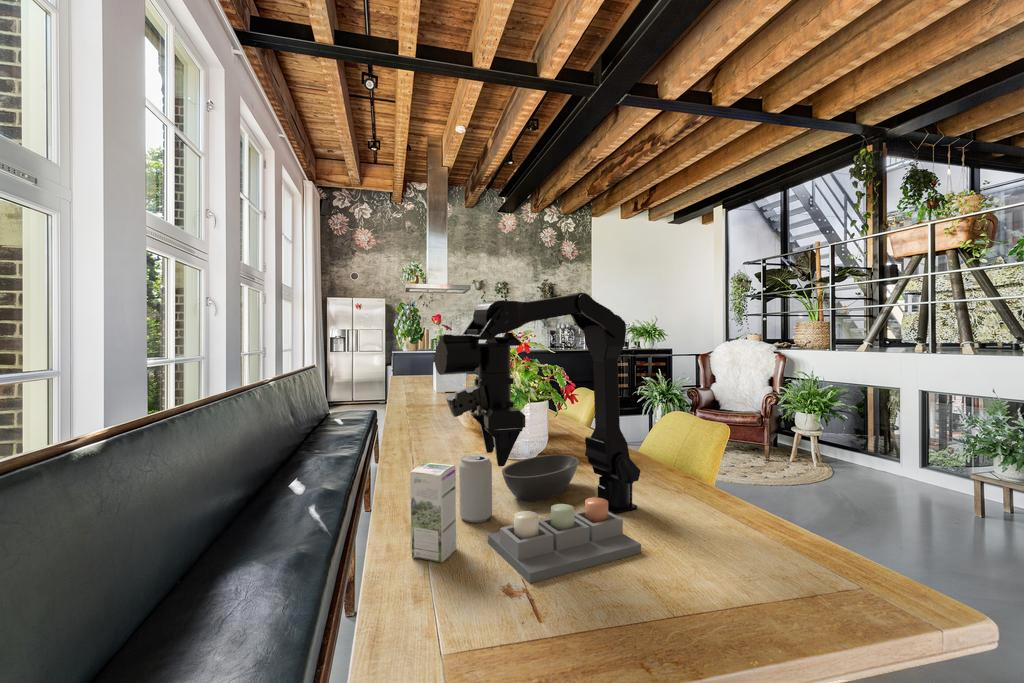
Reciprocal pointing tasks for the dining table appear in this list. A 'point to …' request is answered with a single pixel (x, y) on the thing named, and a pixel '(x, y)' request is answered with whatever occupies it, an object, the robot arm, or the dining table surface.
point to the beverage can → (475, 487)
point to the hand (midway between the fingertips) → (495, 459)
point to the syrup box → (433, 511)
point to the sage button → (562, 517)
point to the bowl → (540, 476)
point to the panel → (564, 547)
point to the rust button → (596, 510)
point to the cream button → (526, 524)
